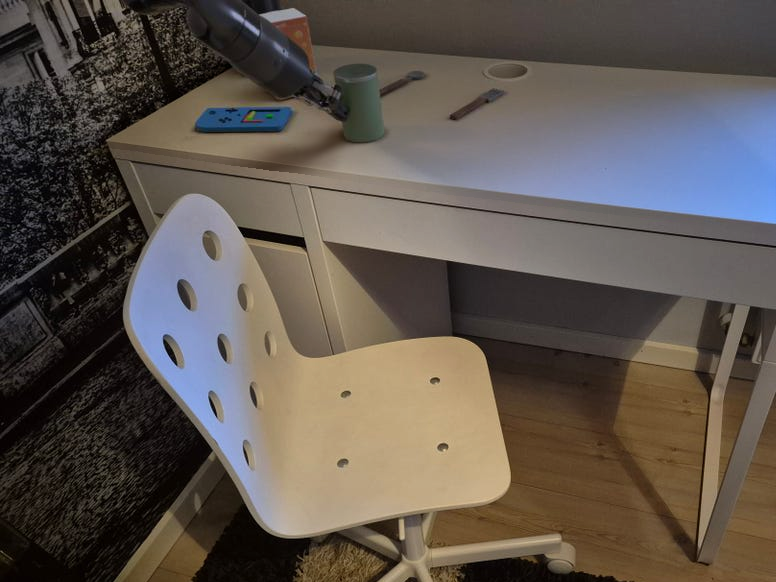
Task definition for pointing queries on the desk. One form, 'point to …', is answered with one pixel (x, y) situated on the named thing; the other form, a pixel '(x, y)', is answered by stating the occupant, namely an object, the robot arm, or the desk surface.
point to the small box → (293, 30)
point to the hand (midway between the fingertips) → (344, 115)
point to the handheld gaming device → (243, 119)
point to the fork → (477, 103)
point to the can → (361, 102)
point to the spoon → (402, 82)
